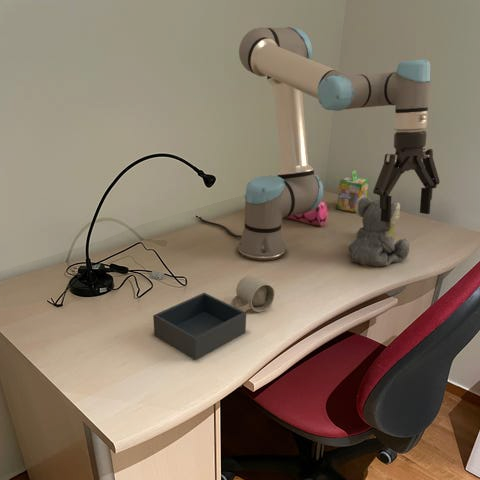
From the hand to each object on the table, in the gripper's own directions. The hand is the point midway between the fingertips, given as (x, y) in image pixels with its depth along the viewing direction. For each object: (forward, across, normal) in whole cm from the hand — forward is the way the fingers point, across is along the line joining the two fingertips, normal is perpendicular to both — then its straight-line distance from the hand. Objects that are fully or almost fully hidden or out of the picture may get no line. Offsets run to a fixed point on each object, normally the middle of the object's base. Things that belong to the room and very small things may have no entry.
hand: (405, 217), depth 135 cm
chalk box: (+12, +36, +66) cm, 76 cm away
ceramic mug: (+19, -40, +13) cm, 47 cm away
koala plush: (+19, +11, +24) cm, 32 cm away
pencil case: (+12, +9, +63) cm, 65 cm away
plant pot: (+17, +25, +36) cm, 47 cm away
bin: (+20, -58, +6) cm, 62 cm away
